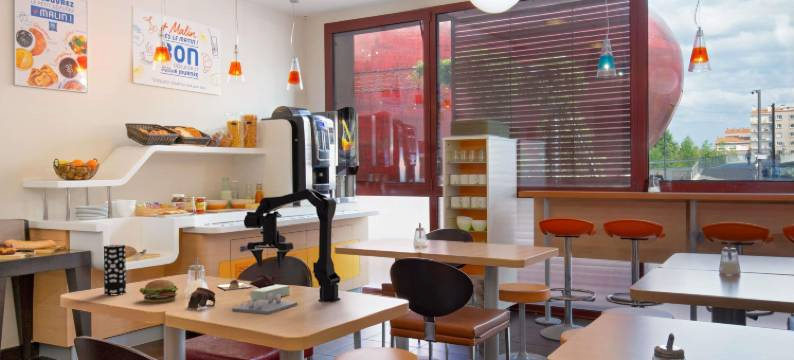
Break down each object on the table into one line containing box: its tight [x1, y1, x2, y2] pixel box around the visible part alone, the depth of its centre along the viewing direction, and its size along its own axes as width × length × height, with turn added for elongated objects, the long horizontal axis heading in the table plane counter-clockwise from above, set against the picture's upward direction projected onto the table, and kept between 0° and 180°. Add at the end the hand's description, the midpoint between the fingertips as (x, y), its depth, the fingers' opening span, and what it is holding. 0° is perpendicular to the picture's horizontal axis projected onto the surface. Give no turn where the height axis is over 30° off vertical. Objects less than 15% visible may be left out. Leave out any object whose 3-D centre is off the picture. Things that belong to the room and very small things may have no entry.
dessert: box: [216, 277, 253, 291], centre depth 292 cm, size 12×12×5 cm
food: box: [139, 279, 179, 303], centre depth 264 cm, size 14×14×8 cm
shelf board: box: [250, 284, 290, 301], centre depth 268 cm, size 6×16×4 cm, turn 152°
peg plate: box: [231, 294, 298, 315], centre depth 246 cm, size 16×18×4 cm
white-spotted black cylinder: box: [103, 244, 127, 296], centre depth 279 cm, size 8×8×20 cm
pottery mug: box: [187, 286, 216, 310], centre depth 249 cm, size 12×10×8 cm
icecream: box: [249, 274, 278, 289], centre depth 283 cm, size 7×7×15 cm
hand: (270, 267), depth 268 cm, fingers open, 9 cm apart
